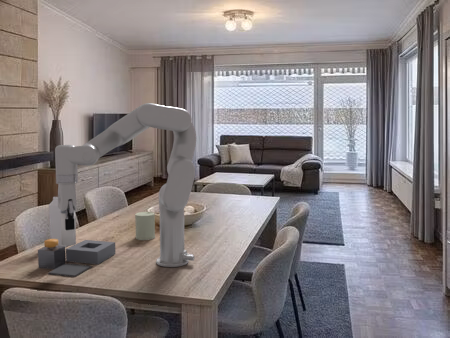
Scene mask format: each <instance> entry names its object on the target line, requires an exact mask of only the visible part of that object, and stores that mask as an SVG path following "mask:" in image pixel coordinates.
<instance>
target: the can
mask: <svg viewBox="0 0 450 338" xmlns="http://www.w3.org/2000/svg"><path fill="white" fill-rule="evenodd" d="M134 215H135V217H134V219H135V220H134V221H135V236H134V237H135V239H136V240H139V241H150V240H153V239H156V234H155V233H156V229H155V228H156V227H155V226H156V225H155V222H156V220H155V212H153V211H140V212H139V211H138V212H136V213H135V214H134Z"/></svg>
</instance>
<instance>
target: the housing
mask: <svg viewBox="0 0 450 338" xmlns="http://www.w3.org/2000/svg"><path fill="white" fill-rule="evenodd" d="M116 253H117V252H116V241H115V242H114V241H104V240H89V239H84V240H82V241H80V242H78V243H76V244H75V245H71V246H68V248H65V256H66V263H69V262H70V263H77V264H80V263H81V264H88V265H100V264H101V263H103V262H105V261H106V260H108V259H109V258H112V257H113V256H115V255H116Z"/></svg>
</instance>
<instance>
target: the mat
mask: <svg viewBox="0 0 450 338" xmlns="http://www.w3.org/2000/svg"><path fill="white" fill-rule="evenodd" d="M92 267H93V266H92V265H91V264H88V265H87V264H80V263H69V262H66V264H64V265H62V266H60V267H58V268H56V269H52V270H51V271H49V272H48V275H53V276H61V277H62V276H64V277H71V278H72V277H73V278H76V277H78V276H79V275H81V274H83V273H84V272H87V271H88V270H89V269H91V268H92Z"/></svg>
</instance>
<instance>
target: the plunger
mask: <svg viewBox="0 0 450 338" xmlns="http://www.w3.org/2000/svg"><path fill="white" fill-rule="evenodd" d="M43 245H44V246H43V247H47V248H50V249H54V247H56V246H58V239H50V238H49V239H45V240H44V243H43Z"/></svg>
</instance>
